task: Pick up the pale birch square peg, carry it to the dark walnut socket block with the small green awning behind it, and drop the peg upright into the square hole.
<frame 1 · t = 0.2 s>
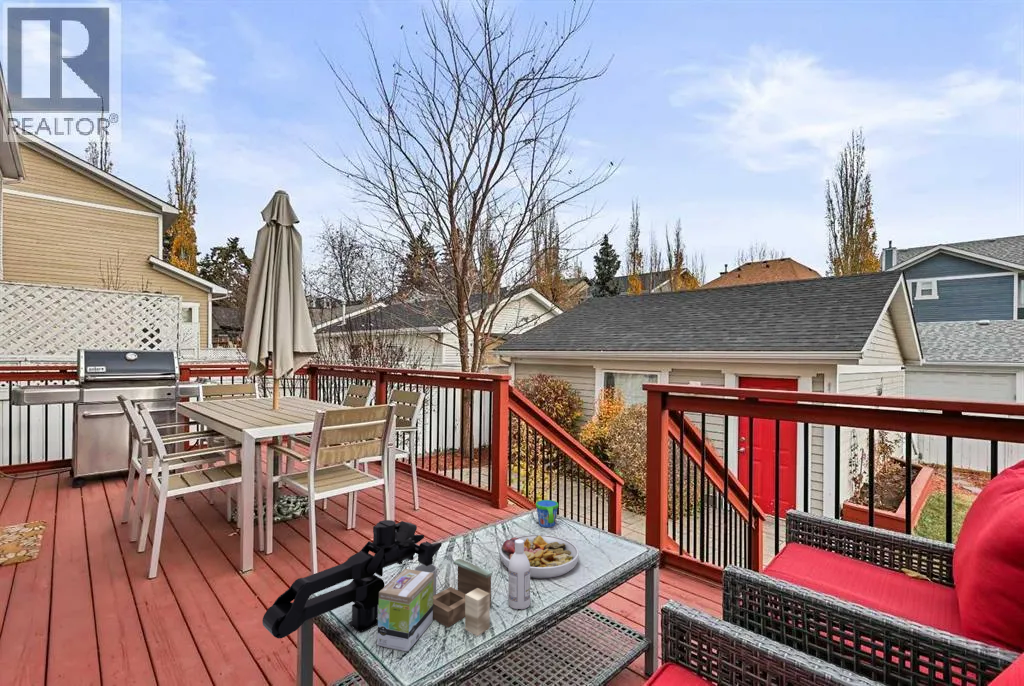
hand: (432, 540, 155), 17 cm above the table, tool horizontal, fingers open, 9 cm apart
bowl: (539, 563, 176), on the table
cup: (423, 595, 152), on the table
tea box: (406, 634, 131), on the table
snack cup: (547, 525, 214), on the table
bath foam: (519, 604, 146), on the table
peg: (477, 628, 133), on the table
socket block: (449, 613, 141), on the table
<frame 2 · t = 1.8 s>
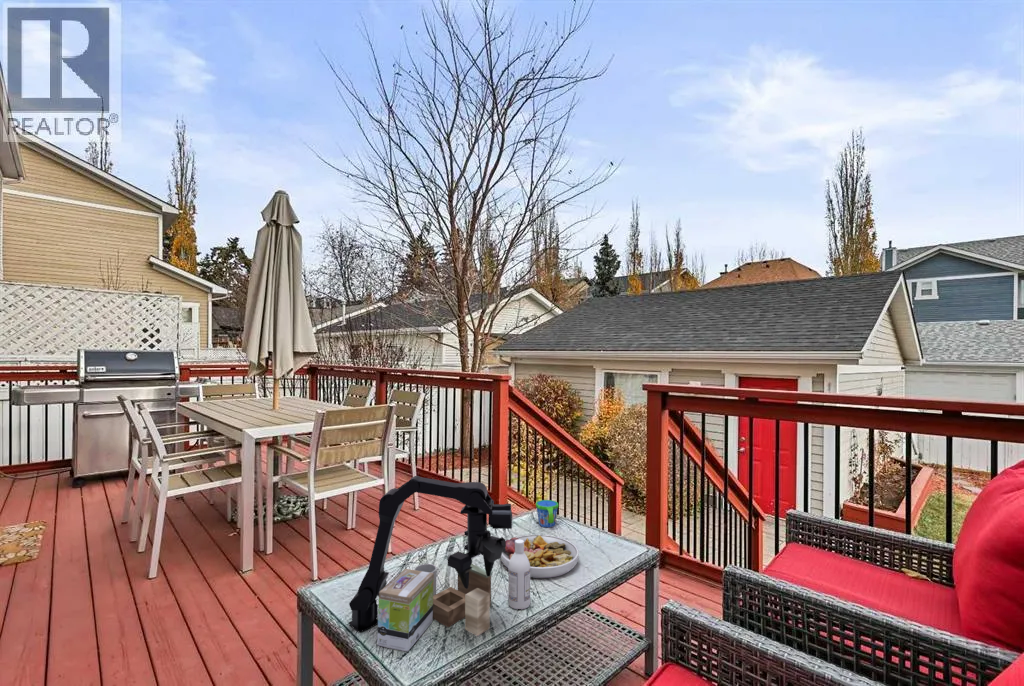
hand: (477, 581, 134), 13 cm above the table, tool pointing down, fingers open, 9 cm apart
nothing on the table moved.
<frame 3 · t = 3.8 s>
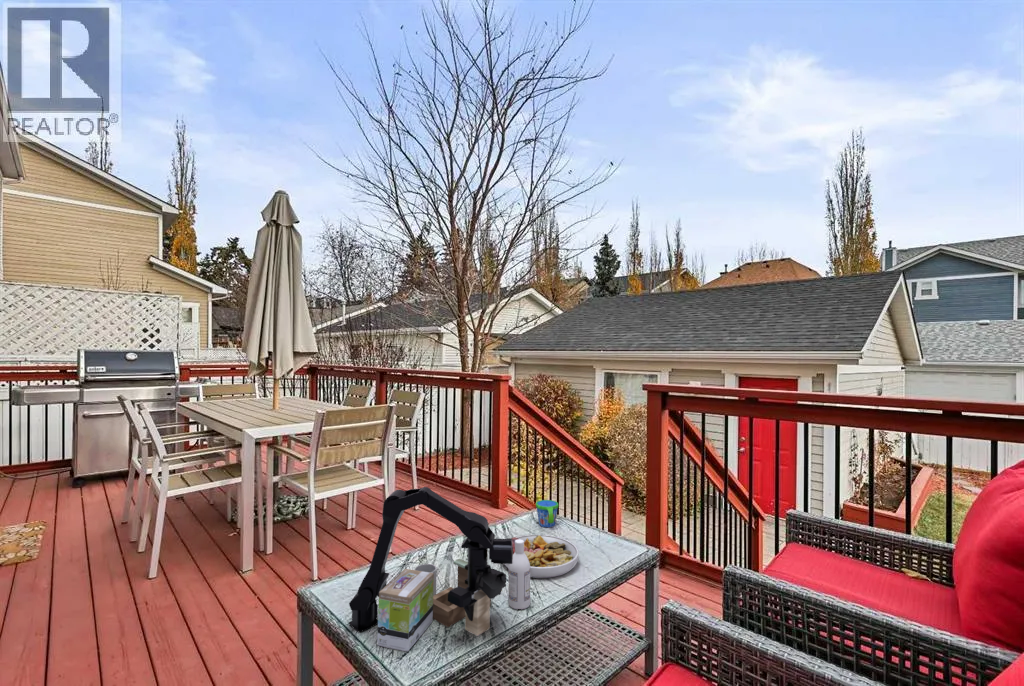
hand: (477, 616, 133), 4 cm above the table, tool pointing down, fingers closed on peg, 5 cm apart
peg: (477, 628, 133), on the table, touching gripper
everything else where it was.
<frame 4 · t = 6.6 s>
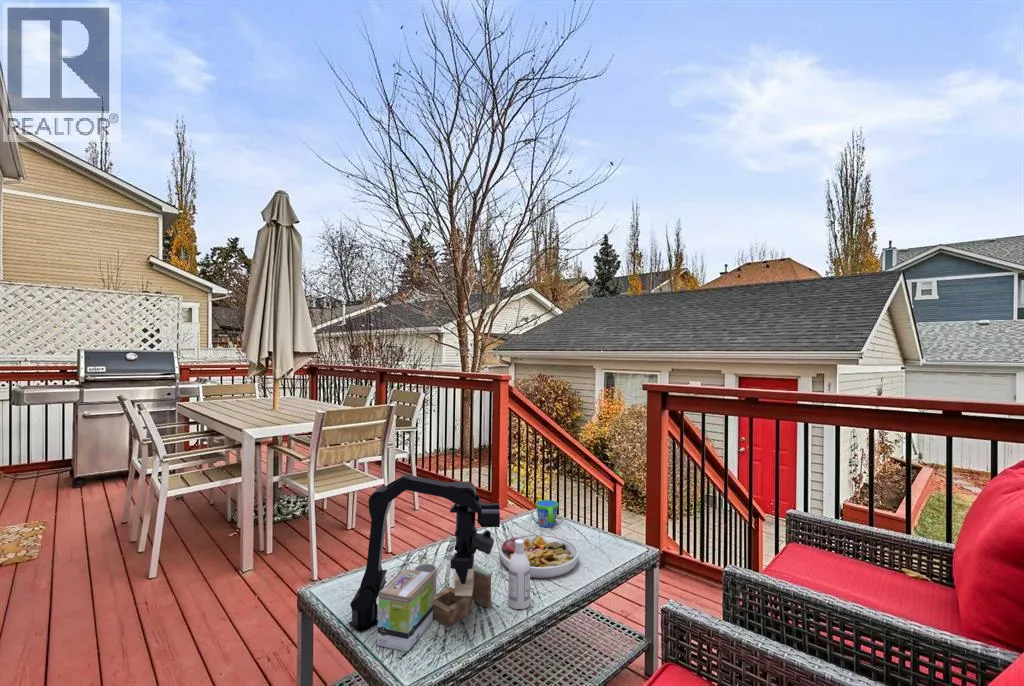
hand: (464, 579, 137), 13 cm above the table, tool pointing down, fingers closed on peg, 5 cm apart
peg: (464, 591, 137), point 9 cm above the table, touching gripper
everything else where it was.
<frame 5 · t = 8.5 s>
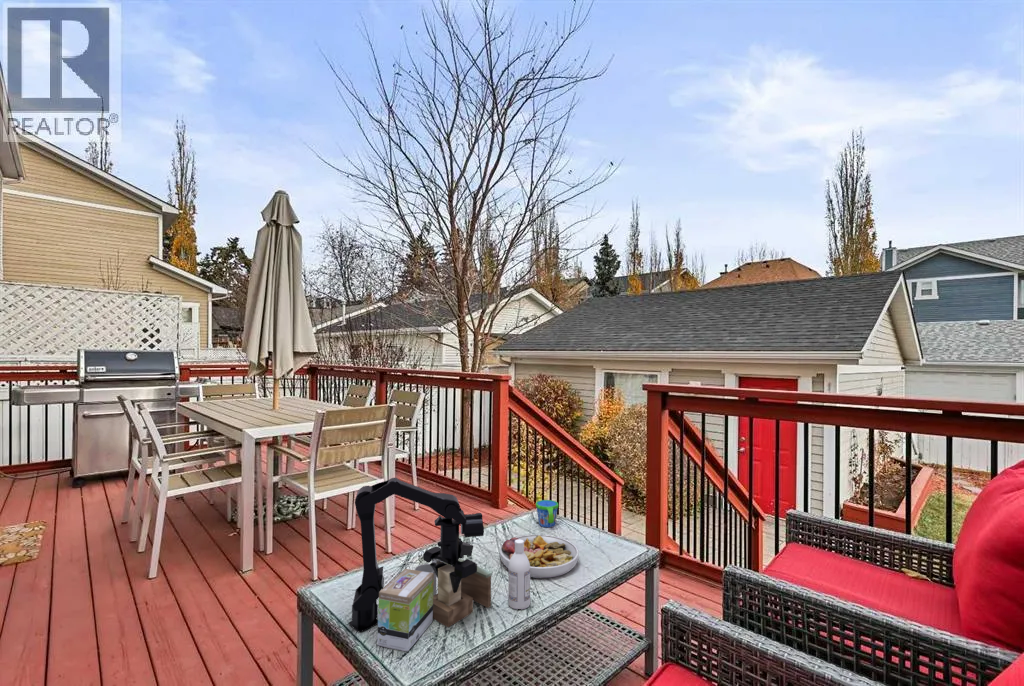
hand: (449, 589, 141), 7 cm above the table, tool pointing down, fingers closed on peg, 5 cm apart
peg: (449, 601, 141), point 4 cm above the table, touching gripper
everything else where it was.
when the fingers open (6 cm above the table, at t = 9.8 s): peg drops 3 cm, resting in socket block.
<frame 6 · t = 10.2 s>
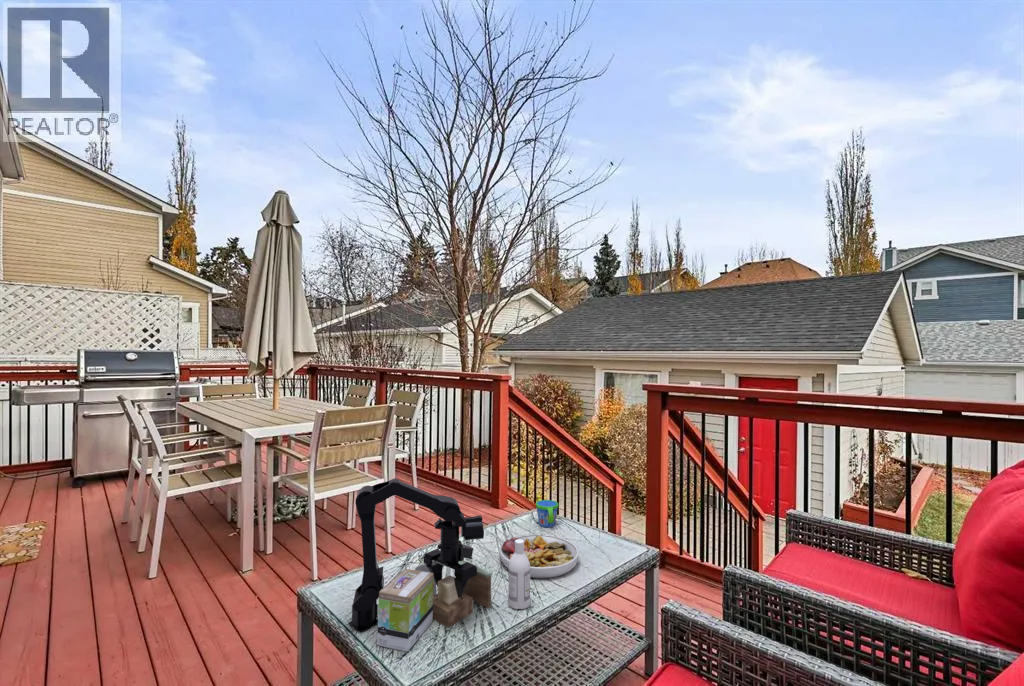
hand: (449, 592, 141), 6 cm above the table, tool pointing down, fingers open, 9 cm apart
peg: (449, 613, 141), resting in socket block
everything else where it was.
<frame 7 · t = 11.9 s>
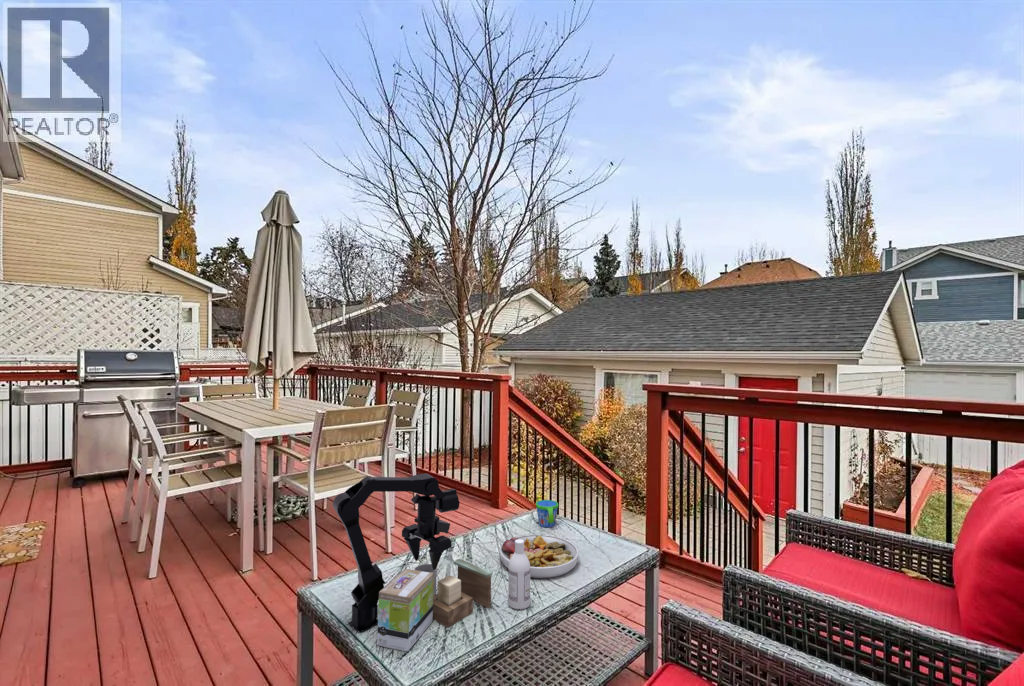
hand: (425, 564, 146), 13 cm above the table, tool pointing down, fingers open, 9 cm apart
nothing on the table moved.
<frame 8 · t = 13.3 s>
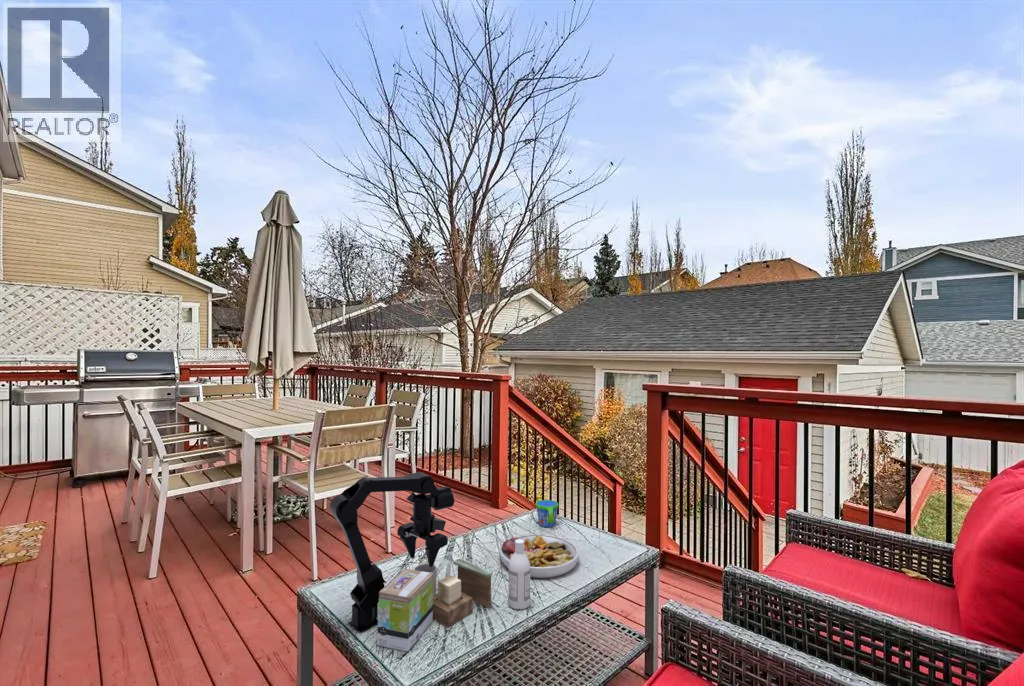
hand: (421, 562, 147), 13 cm above the table, tool pointing down, fingers open, 9 cm apart
nothing on the table moved.
at the end: peg 0.1 cm off-centre on the socket block, point 0.0 cm above the socket block's base; peg tilted 0°; the gripper is holding nothing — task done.
